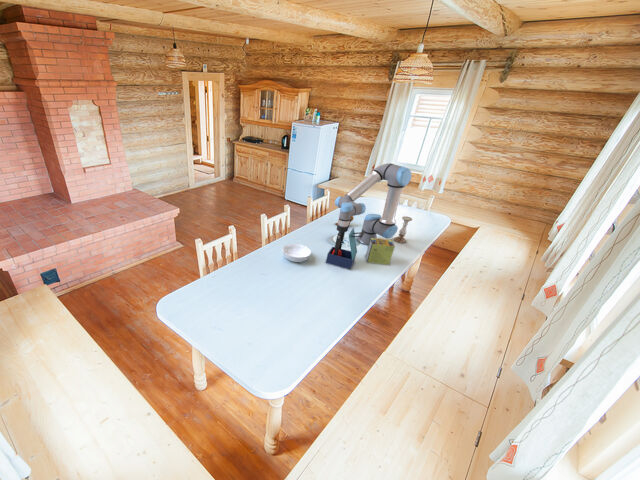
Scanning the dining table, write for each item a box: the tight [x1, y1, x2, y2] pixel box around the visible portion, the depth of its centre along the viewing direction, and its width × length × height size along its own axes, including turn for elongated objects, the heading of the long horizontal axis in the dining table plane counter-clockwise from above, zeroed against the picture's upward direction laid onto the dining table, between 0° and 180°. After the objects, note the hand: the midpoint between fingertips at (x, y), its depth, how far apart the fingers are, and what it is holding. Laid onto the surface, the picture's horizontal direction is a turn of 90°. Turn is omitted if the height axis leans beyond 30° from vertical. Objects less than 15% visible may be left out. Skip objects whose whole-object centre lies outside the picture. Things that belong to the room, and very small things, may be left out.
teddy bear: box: [335, 216, 355, 226], centre depth 284 cm, size 10×14×13 cm
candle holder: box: [394, 215, 413, 244], centre depth 259 cm, size 9×9×20 cm
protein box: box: [365, 238, 396, 266], centre depth 231 cm, size 10×15×16 cm
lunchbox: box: [325, 246, 357, 270], centre depth 229 cm, size 18×13×8 cm
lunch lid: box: [348, 227, 365, 260], centre depth 218 cm, size 18×13×8 cm
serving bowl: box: [281, 243, 312, 263], centre depth 233 cm, size 21×21×7 cm
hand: (336, 253), depth 229 cm, fingers open, 8 cm apart
